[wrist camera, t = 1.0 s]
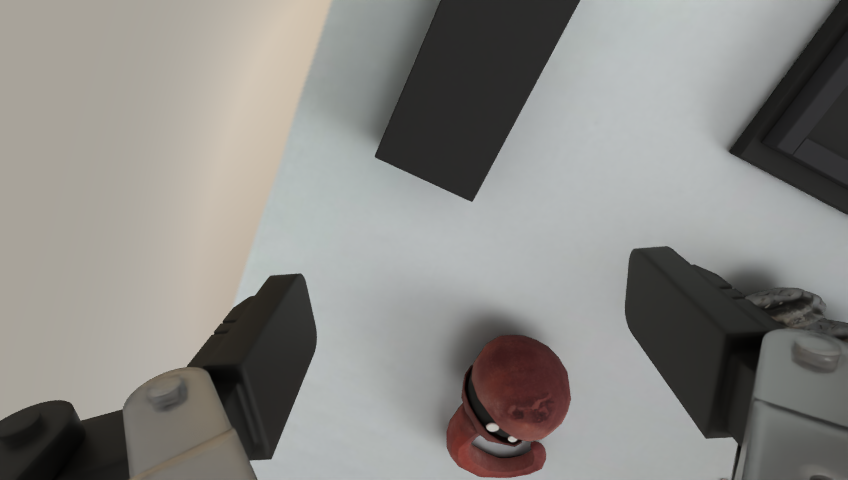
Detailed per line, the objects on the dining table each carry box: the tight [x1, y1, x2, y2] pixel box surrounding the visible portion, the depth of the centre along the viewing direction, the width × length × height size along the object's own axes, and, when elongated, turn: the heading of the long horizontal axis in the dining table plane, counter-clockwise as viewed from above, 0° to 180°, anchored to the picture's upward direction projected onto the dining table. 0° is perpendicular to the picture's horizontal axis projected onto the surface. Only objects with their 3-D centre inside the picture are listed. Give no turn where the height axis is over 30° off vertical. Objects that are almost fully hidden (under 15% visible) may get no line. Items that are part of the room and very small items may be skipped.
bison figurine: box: [745, 288, 848, 343], centre depth 24 cm, size 12×7×10 cm, turn 67°
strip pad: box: [375, 0, 580, 202], centre depth 22 cm, size 12×6×3 cm, turn 155°
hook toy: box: [447, 335, 571, 478], centre depth 30 cm, size 11×6×12 cm
